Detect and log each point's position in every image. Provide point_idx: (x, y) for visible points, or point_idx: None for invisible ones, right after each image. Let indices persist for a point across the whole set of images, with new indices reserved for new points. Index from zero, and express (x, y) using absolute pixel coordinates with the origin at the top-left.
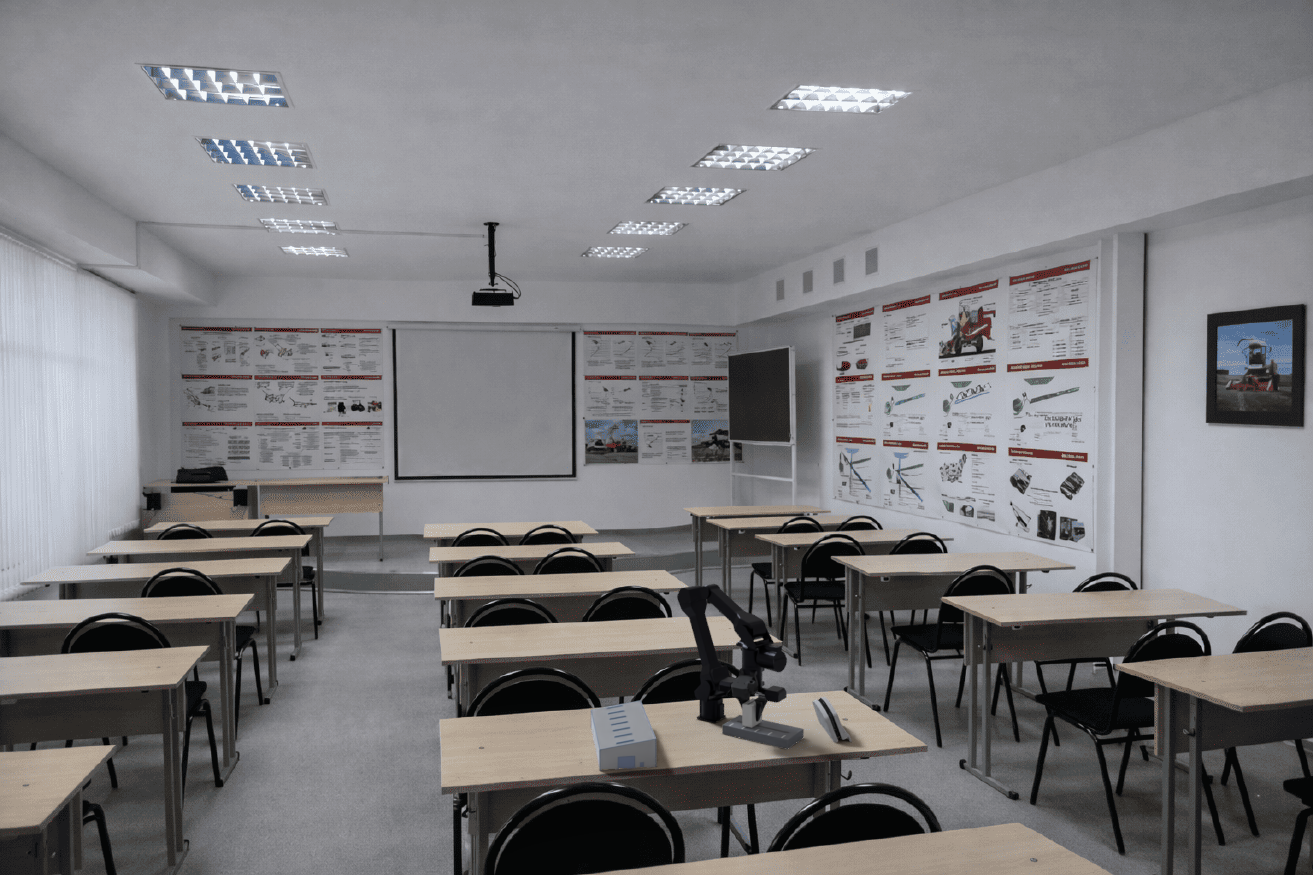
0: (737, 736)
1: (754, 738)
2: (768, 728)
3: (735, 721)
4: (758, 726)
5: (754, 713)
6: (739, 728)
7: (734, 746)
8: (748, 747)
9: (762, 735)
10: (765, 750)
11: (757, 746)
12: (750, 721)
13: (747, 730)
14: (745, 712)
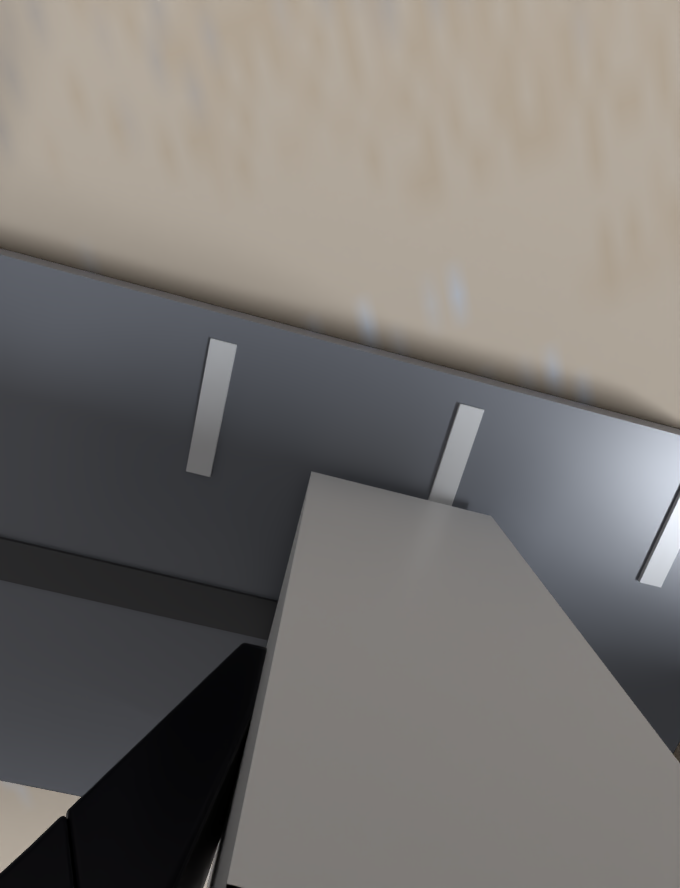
0: (503, 383)
1: (246, 315)
2: (64, 553)
3: (621, 671)
4: (239, 589)
5: (249, 731)
6: (516, 408)
7: (481, 2)
8: (271, 42)
9: (77, 274)
10: (2, 9)
11: (162, 138)
12: (336, 518)
13: (364, 363)
14: (514, 671)
